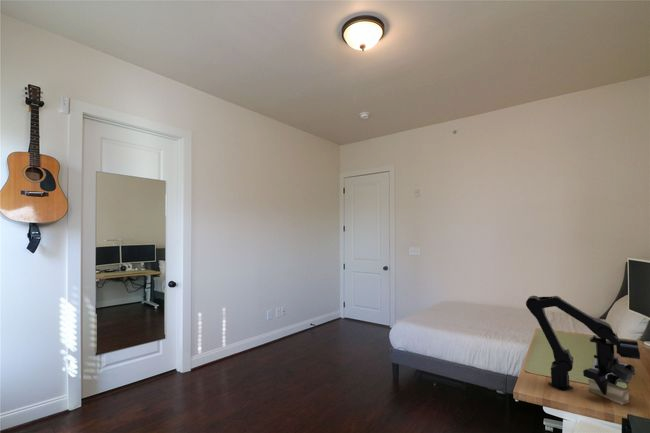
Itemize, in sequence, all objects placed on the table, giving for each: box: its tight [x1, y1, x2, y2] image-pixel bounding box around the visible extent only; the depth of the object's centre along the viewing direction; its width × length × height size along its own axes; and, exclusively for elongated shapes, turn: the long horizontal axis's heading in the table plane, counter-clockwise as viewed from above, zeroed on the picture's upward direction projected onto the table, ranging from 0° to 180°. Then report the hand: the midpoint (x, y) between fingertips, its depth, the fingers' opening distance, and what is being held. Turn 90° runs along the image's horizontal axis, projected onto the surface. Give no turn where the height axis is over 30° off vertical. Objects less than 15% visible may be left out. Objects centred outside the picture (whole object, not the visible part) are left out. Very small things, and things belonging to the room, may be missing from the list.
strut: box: [587, 378, 630, 406], centre depth 135 cm, size 4×12×5 cm, turn 18°
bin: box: [591, 358, 629, 384], centre depth 155 cm, size 15×12×4 cm
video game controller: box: [614, 353, 624, 364], centre depth 168 cm, size 10×5×7 cm, turn 150°
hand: (608, 393), depth 135 cm, fingers closed on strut, 4 cm apart
